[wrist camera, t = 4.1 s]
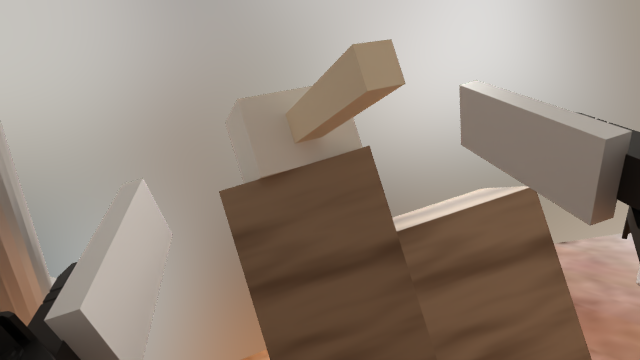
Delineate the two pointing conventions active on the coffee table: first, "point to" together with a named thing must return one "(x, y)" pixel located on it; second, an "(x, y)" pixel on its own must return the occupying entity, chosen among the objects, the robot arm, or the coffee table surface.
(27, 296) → the robot arm
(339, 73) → the mallet
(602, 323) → the coffee table surface
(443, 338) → the stand
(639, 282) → the die
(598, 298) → the coffee table surface
